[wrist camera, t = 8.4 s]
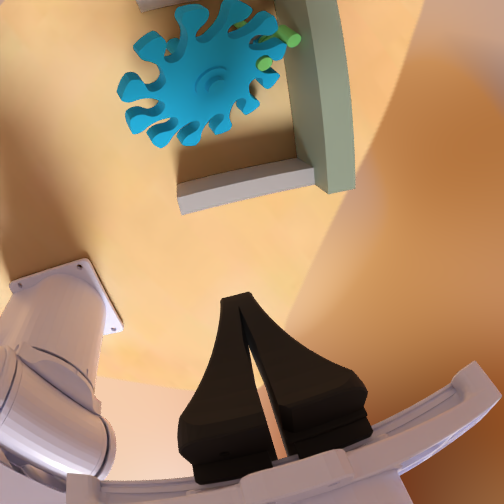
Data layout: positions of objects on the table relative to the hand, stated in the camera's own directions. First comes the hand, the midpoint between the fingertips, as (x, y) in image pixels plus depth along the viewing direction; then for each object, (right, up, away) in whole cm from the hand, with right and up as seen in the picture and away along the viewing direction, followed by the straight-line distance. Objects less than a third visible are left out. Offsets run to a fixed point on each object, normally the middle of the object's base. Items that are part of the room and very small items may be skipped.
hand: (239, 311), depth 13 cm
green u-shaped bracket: (0, +14, +4) cm, 15 cm away
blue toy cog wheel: (-2, +14, +4) cm, 15 cm away
